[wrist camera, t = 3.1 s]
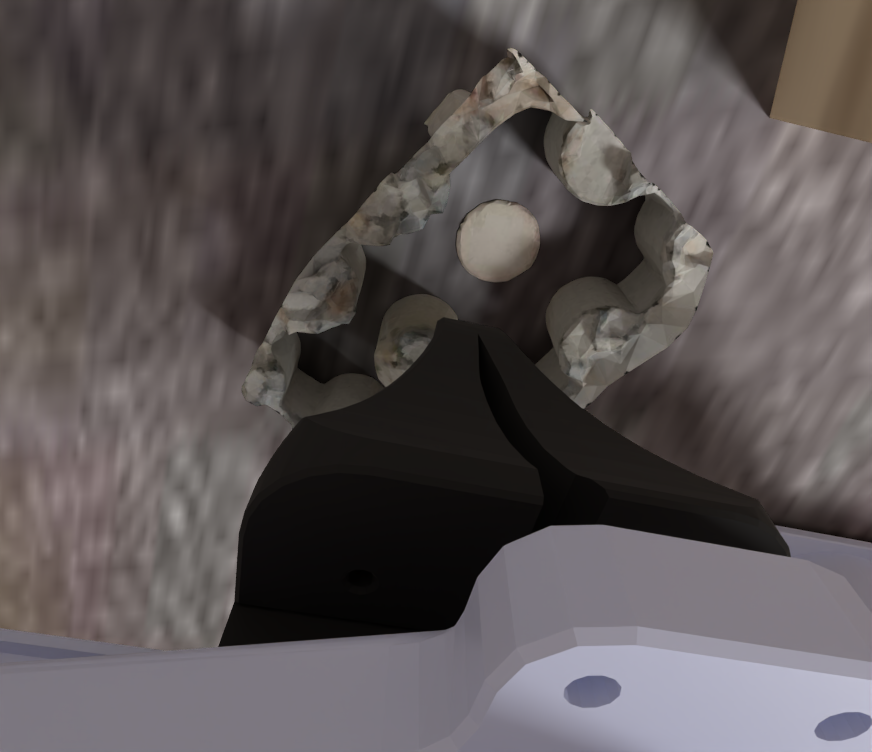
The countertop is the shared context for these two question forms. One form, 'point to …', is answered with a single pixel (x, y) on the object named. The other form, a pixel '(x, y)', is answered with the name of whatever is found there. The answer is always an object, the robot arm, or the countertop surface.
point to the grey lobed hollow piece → (494, 257)
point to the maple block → (828, 69)
